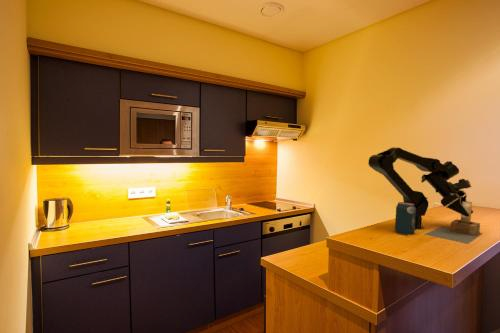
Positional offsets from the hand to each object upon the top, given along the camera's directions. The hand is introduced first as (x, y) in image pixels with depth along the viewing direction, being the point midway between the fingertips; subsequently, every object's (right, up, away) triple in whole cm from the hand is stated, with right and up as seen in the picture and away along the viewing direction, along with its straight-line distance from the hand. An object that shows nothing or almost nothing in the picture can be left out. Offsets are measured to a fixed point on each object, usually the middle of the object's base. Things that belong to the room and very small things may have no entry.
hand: (470, 214), depth 116 cm
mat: (-8, -8, -2) cm, 11 cm away
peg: (-1, -7, +1) cm, 8 cm away
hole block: (-1, -7, +1) cm, 8 cm away
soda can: (-27, -7, -1) cm, 28 cm away
